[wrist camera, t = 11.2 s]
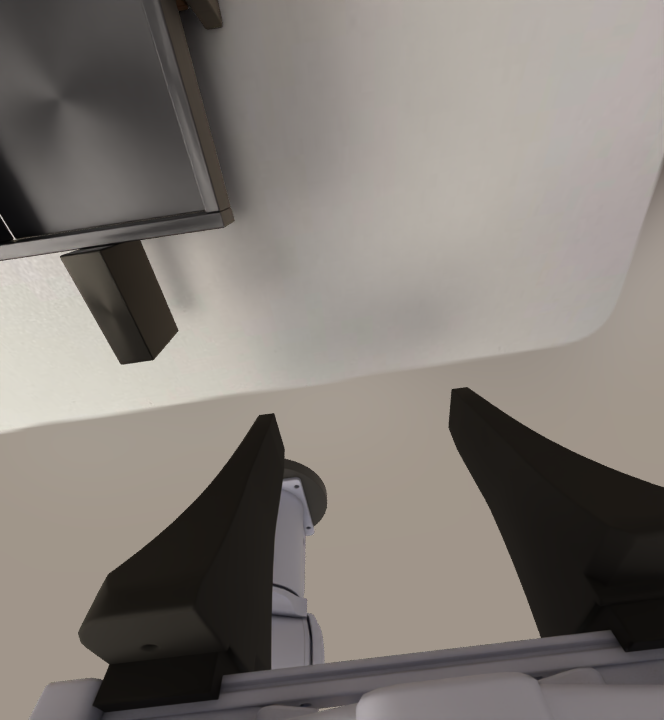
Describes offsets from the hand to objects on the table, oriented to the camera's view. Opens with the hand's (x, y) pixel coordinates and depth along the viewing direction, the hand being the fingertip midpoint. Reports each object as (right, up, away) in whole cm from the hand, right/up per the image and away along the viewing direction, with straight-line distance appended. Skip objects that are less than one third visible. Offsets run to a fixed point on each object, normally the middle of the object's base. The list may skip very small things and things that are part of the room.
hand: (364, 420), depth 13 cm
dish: (-12, +10, +1) cm, 16 cm away
